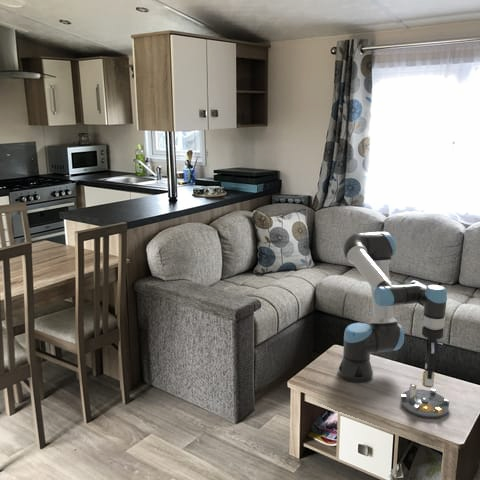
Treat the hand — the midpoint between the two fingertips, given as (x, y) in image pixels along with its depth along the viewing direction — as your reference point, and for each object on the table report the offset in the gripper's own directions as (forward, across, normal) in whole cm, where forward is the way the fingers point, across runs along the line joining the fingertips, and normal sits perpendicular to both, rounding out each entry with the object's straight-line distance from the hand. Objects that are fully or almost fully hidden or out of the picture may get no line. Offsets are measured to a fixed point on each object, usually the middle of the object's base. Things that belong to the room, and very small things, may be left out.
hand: (428, 382), depth 195 cm
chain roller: (+1, 0, 0) cm, 1 cm away
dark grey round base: (+13, -5, 0) cm, 14 cm away
